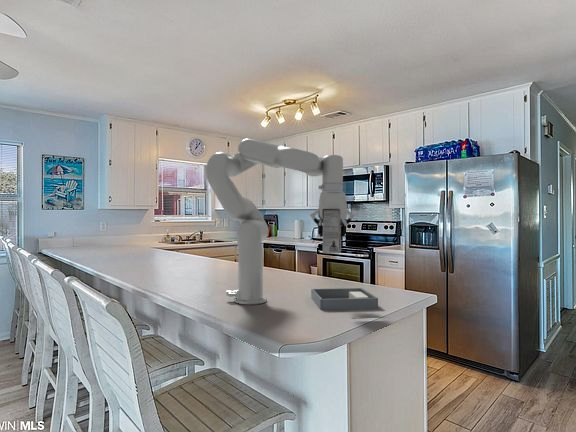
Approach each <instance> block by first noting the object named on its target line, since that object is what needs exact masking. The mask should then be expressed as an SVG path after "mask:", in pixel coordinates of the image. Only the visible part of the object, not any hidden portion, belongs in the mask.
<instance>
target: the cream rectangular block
mask: <svg viewBox="0 0 576 432" xmlns="http://www.w3.org/2000/svg"><path fill="white" fill-rule="evenodd" d="M349 298H369V297H368V296H366V295H365V294H363V293H362V292H349Z"/></svg>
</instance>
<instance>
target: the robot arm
mask: <svg viewBox="0 0 576 432" xmlns="http://www.w3.org/2000/svg"><path fill="white" fill-rule="evenodd" d="M258 164H260V165H263V166H267V167H270V168H274V169H275V168H276V169H279V168H284V169H285V168H286V169H290V170H293V171H298V172H302V173H305V174H306V175H307V176H309V177H320V176H322V177H321V178H322V184H320V185H318V190H321V192H320V194H319V200H318V208H317V209H316V210H314V211H312V212H311V213H310V214H309V216H310V217H311V220H313V222H314V223H315V224H316V225H317V234H318V236H319V237H320V238H321V237H322V238H323V209H340V210H341V238H342V237H343V238H344V237H346V235H347V226H348V225H349V224H350V223H351V221H352V220H353V218H355V214H354V213H352V212H351V211H350V210H349V209H348V204H347V196H346V193H345V192H344V191H343V189H344V187H343V186H344V184H343V182H344V158H343V157H342V155H340V154H339V155H338V154H329V155H325V156H323V157H319V156H318V155H317V154H315V153H313V152H310V151H306V150H301V149H299V148H294V147H287V146H284V145H279V144H273V143H271V142H270V143H269V142H265V141H261V140H257V139H253V138H244V139H243V140H241V141H240V142H239V143H238V146H237V152H236V153H235V154H233V155H231V154H229V153H227V152H222V151H219V152H215V153H213V154H212V155H211V156H210V158H208V160H207V164H206V167H205V175H206V179H207V182H208V184H209V186H210V188H211V189H212V191H213V193H214V194H215V196H216V198H217V200H218V202H219V203H220V205H221V206H222V208H223V210H224V212H225V214H226V215H227V217H229V219H231V220H232V221H237V222H239V226H238V227H237V230H236V242H237V250H238V251H237V257H238V265H237V267H238V268H237V269H238V270H237V271H238V272H237V276H238V277H237V278H238V279H237V280H238V281H237V285H238V286H237V289H235V290H226V297H233V300H234V301H233V302H234V303H236V304H238V303H239V304H240V305H260V304H264V303H266V302H267V300H268V299H267V296H265V295H263V294H264V288H263V287H264V253H263V252H264V251H263V249H264V248H263V242H264V241H265V240H266V239H267V238H268V235H269V231H270V230H269V226H268V224H267V222H266V221H265V218H263V216H262V214H261V213H260V211H259V209H258V208H257V206H256V204H254V202H253V201H252V200H251V199H249V198H247V197H245V196H242V194H241V193H240V192H239V190H238V188H237V186H236V184H235V183H234V182H233V180H232V179H231V177H237V176H239V175H240V174H243V173H244V172H246V171H248V170H250V169H251V168H254V167H255V166H257V165H258ZM316 216H318V218H319V219H318V218H317V217H316ZM347 217H348V218H347ZM239 304H238V305H239Z"/></svg>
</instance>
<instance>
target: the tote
mask: <svg viewBox="0 0 576 432" xmlns="http://www.w3.org/2000/svg"><path fill="white" fill-rule="evenodd" d="M349 292H362V293H363V294H365V295H366V296H368V297H369V298H349ZM310 296H311V297H310V298H311V300H312V301H313V302H314V304H315V305H316V306H317V308H318V309H319V310H322V311H323V310H324V311H327V310H328V311H329V310H330V311H333V310H339V311H340V310H366V309H367V310H368V309H369V310H371V309H372V310H373V309H374V310H375V309H379V298H378V297H377V296H375V294H372V293H370V292H369V291H367V290H366V289H364V288H362V287H352V288H351V287H350V288H349V287H348V288H347V287H345V288H344V287H343V288H342V287H341V288H340V287H339V288H335V287H334V288H311V290H310Z"/></svg>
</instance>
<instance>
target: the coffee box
mask: <svg viewBox="0 0 576 432" xmlns="http://www.w3.org/2000/svg"><path fill="white" fill-rule="evenodd" d="M322 226H323V236H322V254H341V252H342V236H341V226H342V223H341V210H340V209H323V223H322Z"/></svg>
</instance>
